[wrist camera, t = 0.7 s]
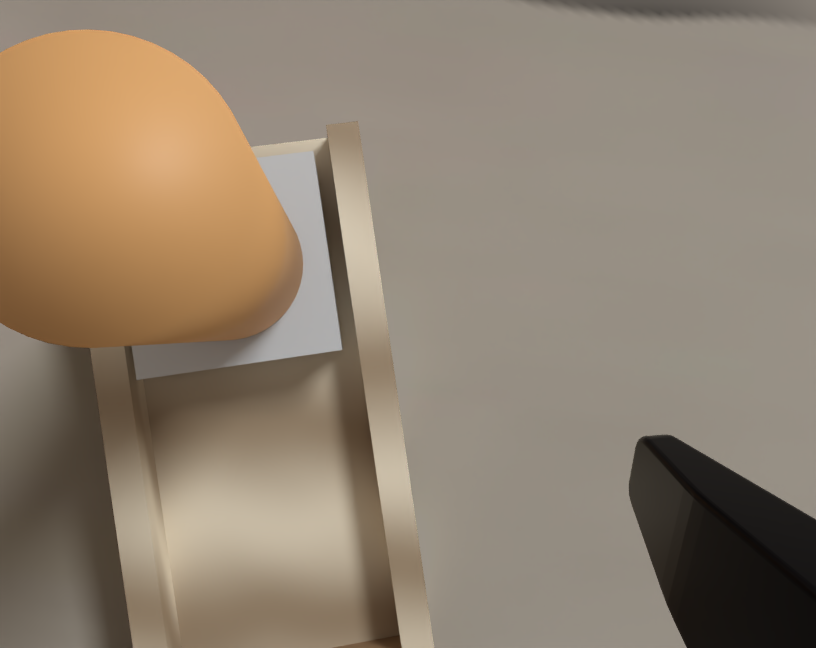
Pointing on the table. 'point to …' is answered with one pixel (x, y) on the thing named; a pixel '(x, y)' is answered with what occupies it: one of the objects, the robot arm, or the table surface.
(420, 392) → the table surface
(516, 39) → the table surface
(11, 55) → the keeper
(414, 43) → the table surface
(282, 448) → the track
